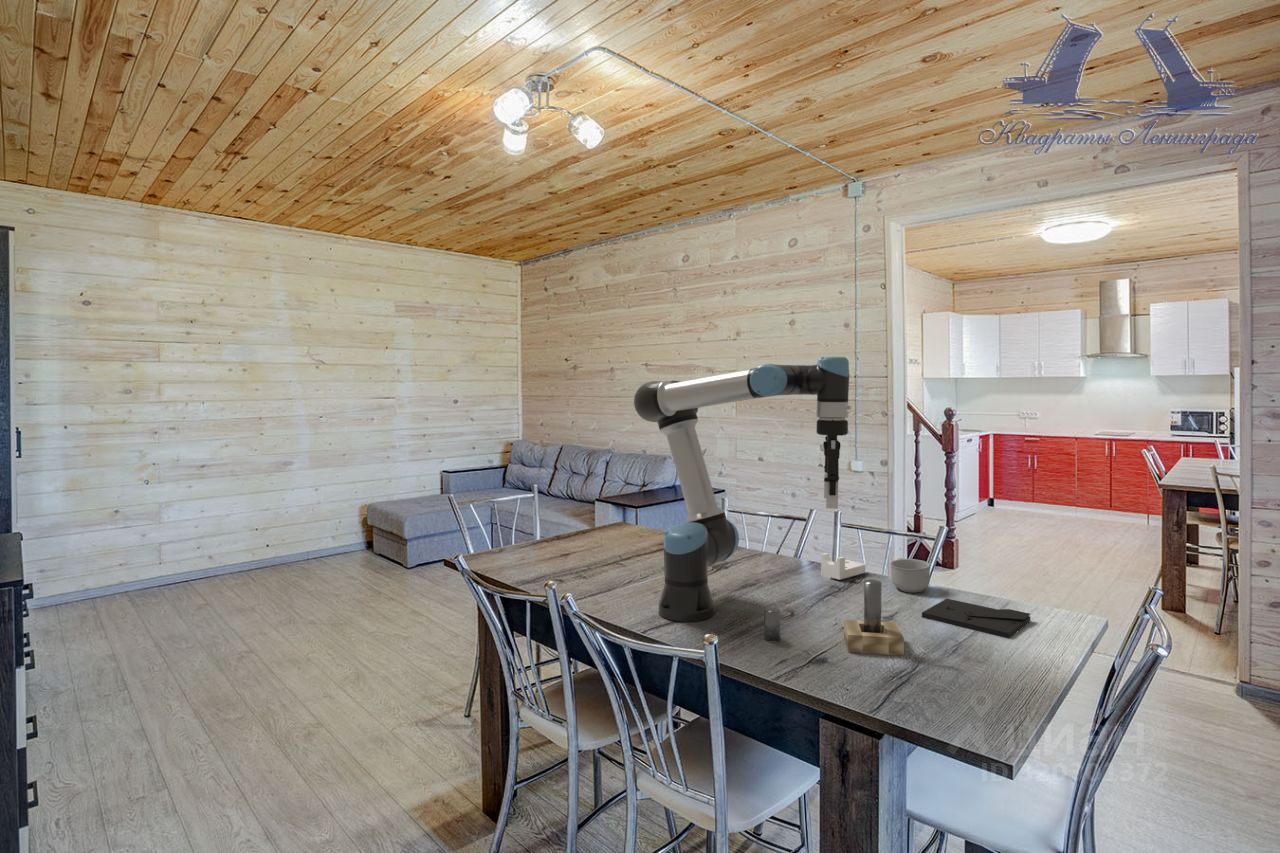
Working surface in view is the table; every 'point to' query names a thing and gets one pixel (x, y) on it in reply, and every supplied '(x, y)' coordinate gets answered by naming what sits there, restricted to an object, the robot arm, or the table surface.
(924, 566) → the teacup
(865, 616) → the long pin
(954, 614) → the picture frame
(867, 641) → the socket block
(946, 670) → the table surface
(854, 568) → the bracket
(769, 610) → the short pin
